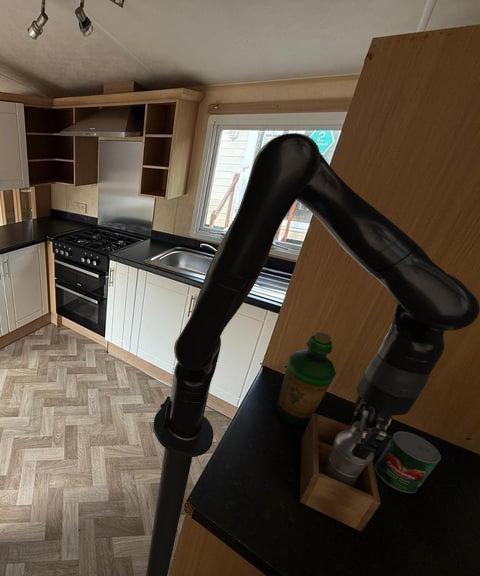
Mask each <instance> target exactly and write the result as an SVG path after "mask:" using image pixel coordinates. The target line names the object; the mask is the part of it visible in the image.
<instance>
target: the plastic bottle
mask: <svg viewBox="0 0 480 576" xmlns="http://www.w3.org/2000/svg"><path fill="white" fill-rule="evenodd" d="M359 425H360V421H355V422H354V423H353V425H352V426H351V427H350V429H349V430H345V431H341V432H339V433H338V434H337V435H336V437H335V440H334V444H333V448H332V451H331V454H330V456H329V458H328V460H327V461H326V463H325V464H324V465H323V466H322V467H321V468H320V469H319V473H321V474H323V475H325V476H328V477H330V478H332V479H335V480H337V481H339V482H342V483H344V484H346V485H349V486H351V487H353V488H354V484H355V482H356V479H357V477H358V476H359V474H360V473H361V472H362V470H363V469H364V468H365V467H366V466H367V465H368V464H369V463H370V462H371V461H373V460H374V459H375V453H373V452H370V454H369V456H368V457H367V459H366V460H362V459H360V458H357V457H355V456H353V455H352V450H353V448H354V446H355V444H356V443H357V441H358V439H359V436H360V433H361V430H360V429H359ZM365 428H368V429H370V428H371V429H372V427H369V426H367V425H365ZM366 436H367V434H366ZM366 436H365V437H366Z"/></svg>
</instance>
